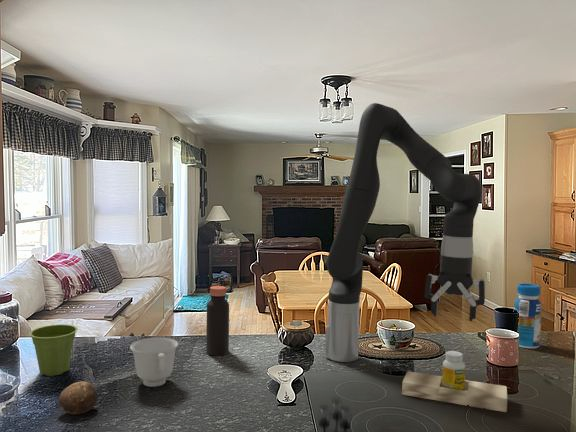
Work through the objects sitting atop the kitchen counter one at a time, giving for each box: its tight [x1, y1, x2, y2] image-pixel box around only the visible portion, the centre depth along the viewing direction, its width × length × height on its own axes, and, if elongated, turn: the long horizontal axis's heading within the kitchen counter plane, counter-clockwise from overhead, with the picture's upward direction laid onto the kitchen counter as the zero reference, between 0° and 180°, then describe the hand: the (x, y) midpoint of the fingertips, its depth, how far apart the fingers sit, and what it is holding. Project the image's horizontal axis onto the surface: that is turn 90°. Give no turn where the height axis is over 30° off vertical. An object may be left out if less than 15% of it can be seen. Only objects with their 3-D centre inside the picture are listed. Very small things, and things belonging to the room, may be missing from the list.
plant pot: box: [28, 324, 78, 377], centre depth 138 cm, size 12×12×11 cm
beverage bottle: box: [513, 282, 543, 350], centre depth 168 cm, size 8×8×20 cm
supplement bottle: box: [441, 350, 466, 391], centre depth 127 cm, size 5×5×10 cm
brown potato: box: [58, 380, 99, 415], centre depth 116 cm, size 8×8×6 cm
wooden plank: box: [401, 370, 508, 413], centre depth 127 cm, size 24×8×3 cm, turn 68°
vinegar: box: [205, 285, 230, 357], centre depth 155 cm, size 7×7×20 cm
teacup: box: [129, 337, 179, 388], centre depth 131 cm, size 12×15×10 cm
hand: (452, 318), depth 128 cm, fingers open, 8 cm apart
